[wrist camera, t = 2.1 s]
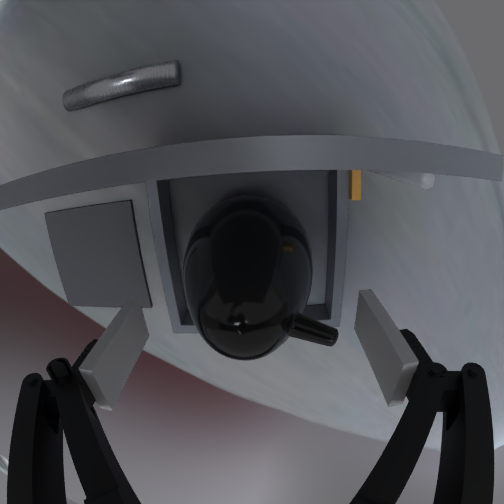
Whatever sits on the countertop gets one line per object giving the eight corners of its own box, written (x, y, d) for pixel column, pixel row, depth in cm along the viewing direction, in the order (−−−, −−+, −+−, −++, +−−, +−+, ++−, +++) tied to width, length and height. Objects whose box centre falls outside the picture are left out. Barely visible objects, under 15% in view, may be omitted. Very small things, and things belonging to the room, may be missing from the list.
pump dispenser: (292, 295, 30) (314, 411, 16) (193, 279, 30) (148, 388, 16) (315, 199, 26) (376, 265, 12) (204, 180, 26) (143, 226, 12)
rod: (77, 98, 23) (71, 115, 23) (67, 85, 21) (60, 102, 20) (182, 72, 23) (179, 89, 22) (176, 55, 21) (172, 71, 20)
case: (154, 152, 25) (-20, 192, 6) (351, 141, 24) (523, 161, 6) (179, 317, 31) (121, 477, 13) (344, 310, 31) (408, 468, 12)
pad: (46, 212, 27) (44, 213, 27) (131, 200, 27) (130, 200, 26) (71, 303, 31) (69, 305, 31) (152, 306, 31) (151, 307, 31)
